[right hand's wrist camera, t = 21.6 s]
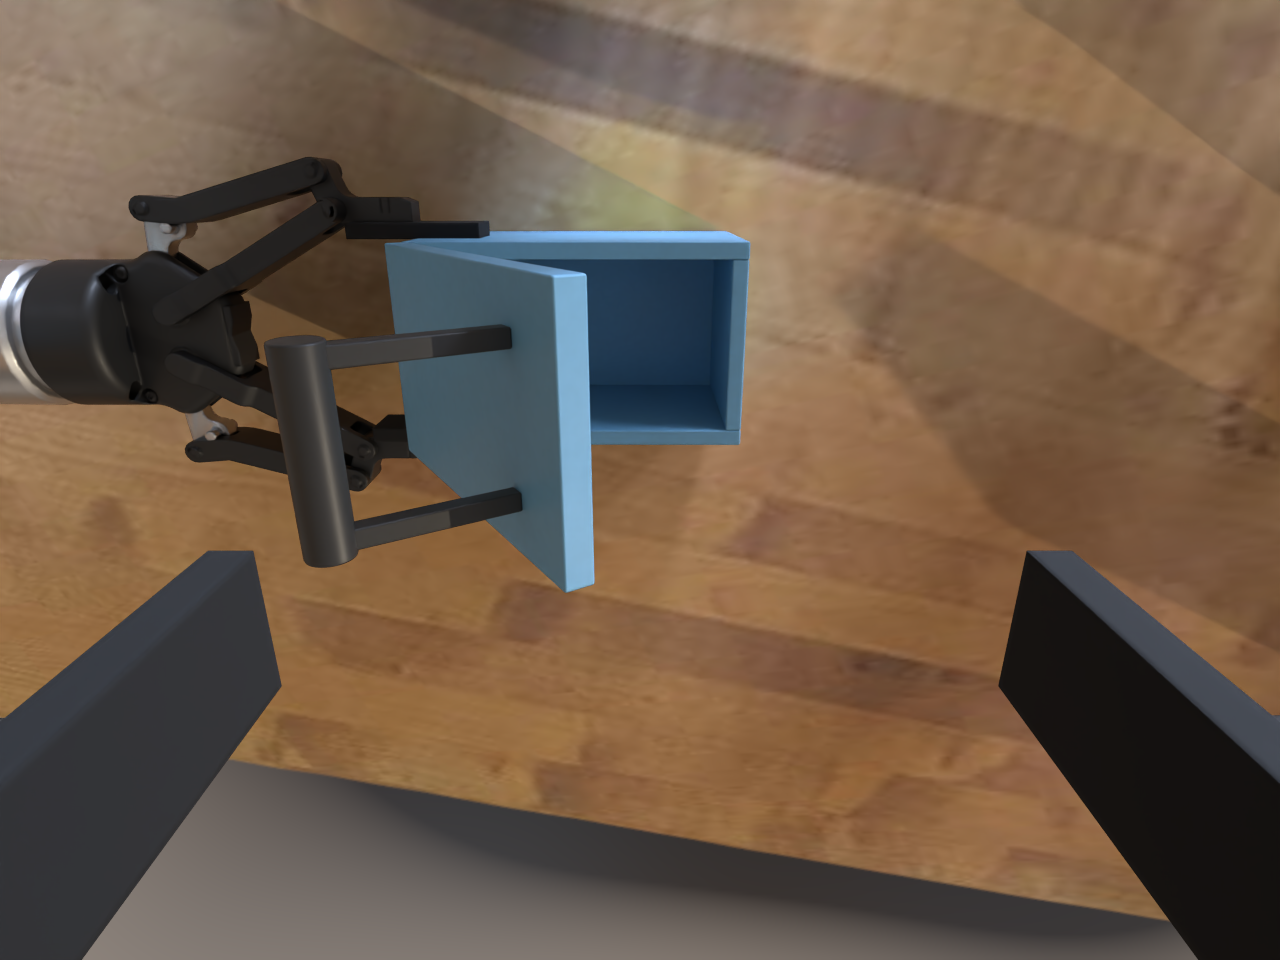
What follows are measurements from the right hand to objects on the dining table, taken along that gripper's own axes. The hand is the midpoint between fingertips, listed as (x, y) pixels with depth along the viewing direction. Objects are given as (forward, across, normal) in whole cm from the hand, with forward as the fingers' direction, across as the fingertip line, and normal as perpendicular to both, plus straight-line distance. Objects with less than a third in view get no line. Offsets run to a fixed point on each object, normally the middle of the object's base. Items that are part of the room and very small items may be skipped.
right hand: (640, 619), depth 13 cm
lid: (+17, -6, 0) cm, 18 cm away
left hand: (+28, -8, 0) cm, 29 cm away
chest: (+34, -3, 0) cm, 35 cm away
